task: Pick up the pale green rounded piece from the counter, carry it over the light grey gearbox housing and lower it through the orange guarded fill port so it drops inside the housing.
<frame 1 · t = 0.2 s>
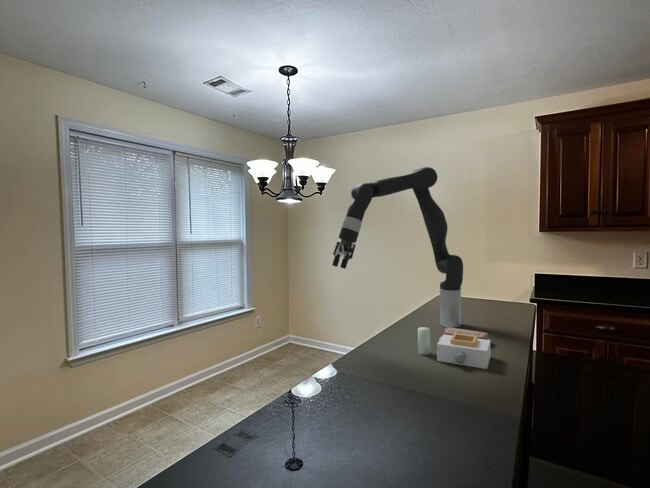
hand: (338, 267, 145), 31 cm above the worktop, tool tilted 20°, fingers open, 8 cm apart
packaged product: (463, 342, 144), on the worktop
pale green rounded piece: (424, 352, 132), on the worktop
gearbox: (464, 358, 125), on the worktop
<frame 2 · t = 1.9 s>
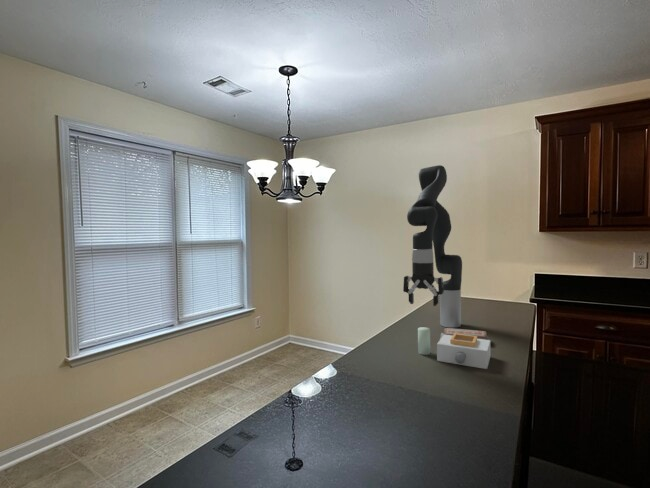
hand: (423, 304, 131), 18 cm above the worktop, tool pointing down, fingers open, 8 cm apart
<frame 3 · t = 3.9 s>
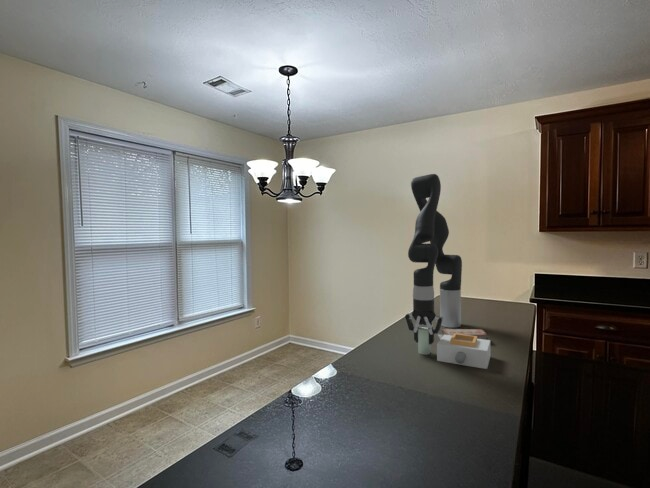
hand: (423, 342, 132), 4 cm above the worktop, tool pointing down, fingers closed on pale green rounded piece, 4 cm apart
pale green rounded piece: (424, 352, 132), on the worktop, touching gripper
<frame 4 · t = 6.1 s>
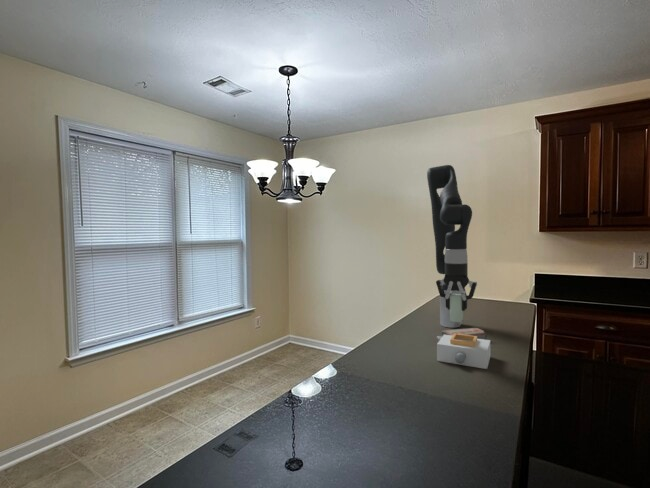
hand: (456, 309, 125), 17 cm above the worktop, tool pointing down, fingers closed on pale green rounded piece, 4 cm apart
pale green rounded piece: (456, 320, 126), point 14 cm above the worktop, touching gripper
when the fingers open (9 cm above the worktop, at t = 8.6 s): pale green rounded piece drops 5 cm, resting in gearbox.
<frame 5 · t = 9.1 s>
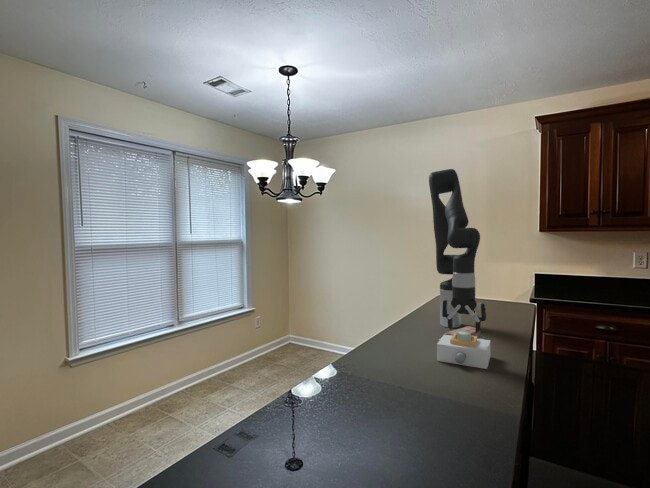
hand: (463, 330, 125), 10 cm above the worktop, tool pointing down, fingers open, 8 cm apart
pale green rounded piece: (464, 358, 125), resting in gearbox
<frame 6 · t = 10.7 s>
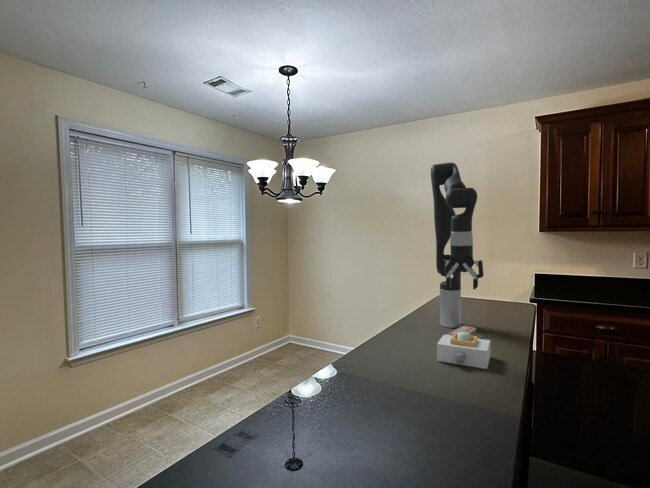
hand: (461, 288, 129), 24 cm above the worktop, tool pointing down, fingers open, 8 cm apart
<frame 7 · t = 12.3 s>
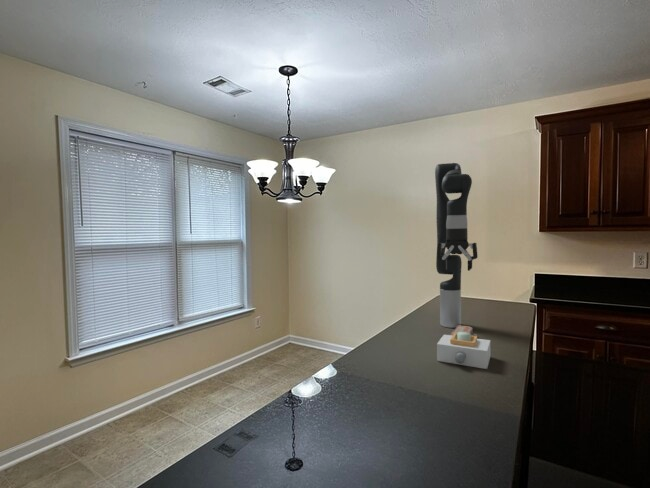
hand: (457, 269, 135), 30 cm above the worktop, tool pointing down, fingers open, 8 cm apart
at the end: pale green rounded piece 0.0 cm off-centre on the gearbox, point 0.0 cm above the gearbox's base; the gripper is holding nothing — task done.
